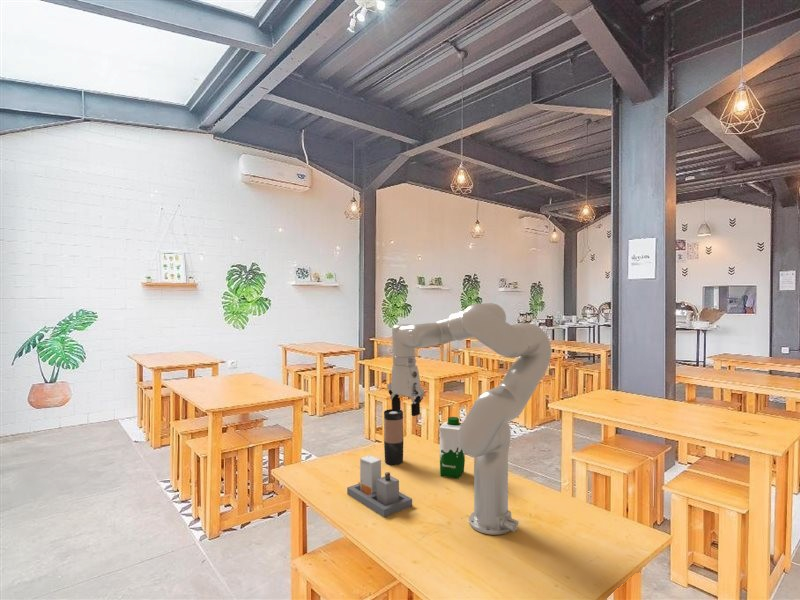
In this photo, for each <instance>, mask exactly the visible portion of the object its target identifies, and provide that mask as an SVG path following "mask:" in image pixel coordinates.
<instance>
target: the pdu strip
mask: <svg viewBox="0 0 800 600" xmlns="http://www.w3.org/2000/svg"><path fill="white" fill-rule="evenodd" d="M346 489H347V491H346V493H347V494H346V495H348V496H349V497H351V498H352V499H354V500H356V501H357V502H358V503H361V504H362V505H364V506H365V507H366V508H369V509H370V510H371V511H373V512H374V513H376V514H378V515H380V516H381V517H382V518H386V517H387V518H388V517H389V516H392V515H394V514H396V513H398V512H401V511H404V510H406V509H409V508H410V507H413V498H412V497H410V496H408V495H406V494H404V493H402V492H400V491H399V501H398V502H395V503H393V504H390V505H388V506H384V505H383V504H381V503H379V502H378V501H377V492H375V493H372V494H370V495H366V494H364V493H363V492H361V491H360V481H359V482H358V483H357V484H354V485H353V484H352V485H350V486H347V488H346Z"/></svg>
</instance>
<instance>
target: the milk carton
mask: <svg viewBox="0 0 800 600" xmlns="http://www.w3.org/2000/svg"><path fill="white" fill-rule="evenodd" d="M462 424H463V422H462V423H461V422H460V418H459V417H457V416H449V417H447V421H444V422H443V423H442V424H441V425H440V426H439V427H438V430H439V431H438V432H439V470H440V471H439V472H440V473H439V475H440V477H444V478H449V479H455V480H457V479H459V480H460V478H461V477H462V475H463V473H464V472H465V462H466V461H465V460H466V458H465V457H466V456H465V455H466V453H464V452H463V451H462V449H461V447H460V445H459V441H458V434H459V430H460V427H461V425H462Z"/></svg>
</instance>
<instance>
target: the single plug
mask: <svg viewBox="0 0 800 600" xmlns="http://www.w3.org/2000/svg"><path fill="white" fill-rule="evenodd" d="M376 487H377V501H378V502H379V503H381V504H383V505H384V506H388V505H390V504H393V503H395V502H398V501H399V492H400V480H399V479H398V478H396V477H394V476H392V475H391V472H384V476H383V477H382V476H381V478H379V479H376Z"/></svg>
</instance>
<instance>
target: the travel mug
mask: <svg viewBox="0 0 800 600" xmlns="http://www.w3.org/2000/svg"><path fill="white" fill-rule="evenodd" d="M383 424H384V425H383V447H384V449H383V450H384V451H383V452H384V464H385V465H388V466H400V465H402V464H403V462H404V411H403V410H401V409H400V410H397V411H392V408H390V409H386V410H384V411H383Z"/></svg>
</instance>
